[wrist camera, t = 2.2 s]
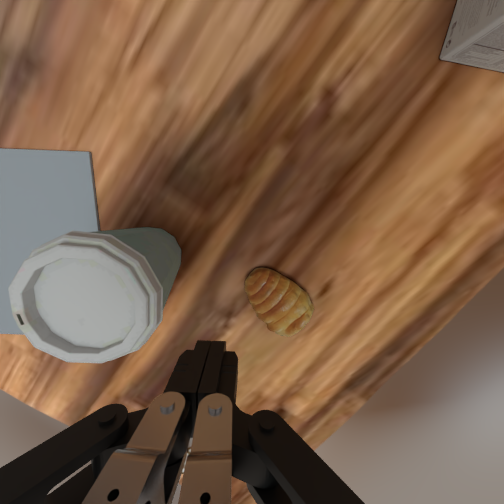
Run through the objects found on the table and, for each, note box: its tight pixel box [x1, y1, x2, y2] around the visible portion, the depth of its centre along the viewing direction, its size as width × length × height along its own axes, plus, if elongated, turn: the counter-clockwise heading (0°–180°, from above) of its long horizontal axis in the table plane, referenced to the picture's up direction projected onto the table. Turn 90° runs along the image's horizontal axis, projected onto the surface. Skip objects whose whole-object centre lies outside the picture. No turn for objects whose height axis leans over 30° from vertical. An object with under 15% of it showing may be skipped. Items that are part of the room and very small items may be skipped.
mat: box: [0, 148, 100, 335], centre depth 32 cm, size 24×16×1 cm, turn 178°
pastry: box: [244, 267, 314, 337], centre depth 32 cm, size 9×7×4 cm
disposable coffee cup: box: [8, 227, 181, 363], centre depth 25 cm, size 11×11×15 cm
